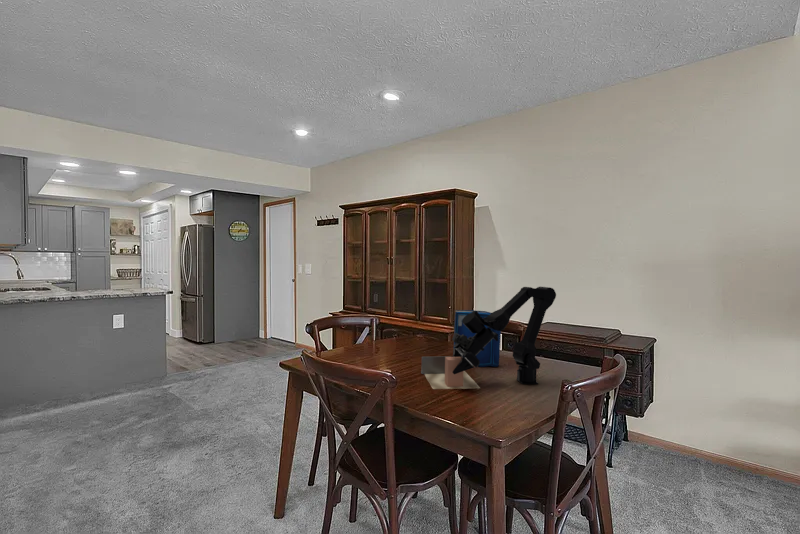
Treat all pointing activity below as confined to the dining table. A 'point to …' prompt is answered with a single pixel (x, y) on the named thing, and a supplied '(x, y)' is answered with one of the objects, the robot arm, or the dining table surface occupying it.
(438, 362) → the bookend
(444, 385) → the beige cloth placemat
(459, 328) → the book
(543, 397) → the dining table surface
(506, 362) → the dining table surface
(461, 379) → the salmon pink rectangular block
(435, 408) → the dining table surface
